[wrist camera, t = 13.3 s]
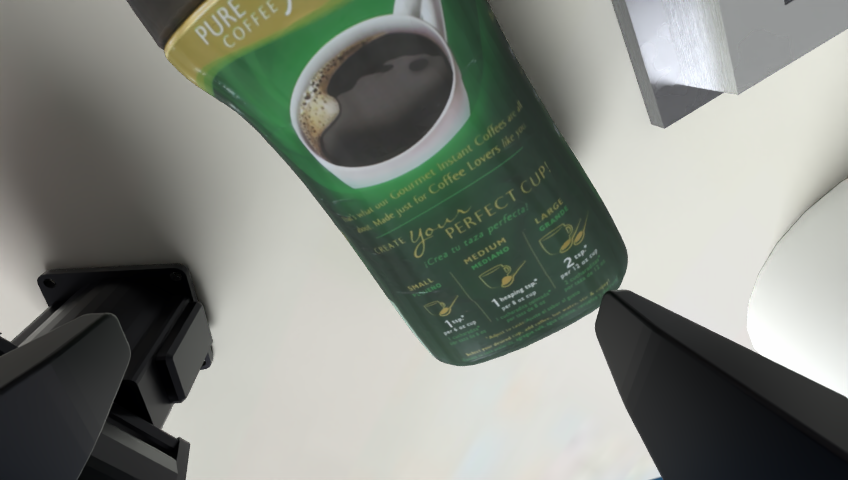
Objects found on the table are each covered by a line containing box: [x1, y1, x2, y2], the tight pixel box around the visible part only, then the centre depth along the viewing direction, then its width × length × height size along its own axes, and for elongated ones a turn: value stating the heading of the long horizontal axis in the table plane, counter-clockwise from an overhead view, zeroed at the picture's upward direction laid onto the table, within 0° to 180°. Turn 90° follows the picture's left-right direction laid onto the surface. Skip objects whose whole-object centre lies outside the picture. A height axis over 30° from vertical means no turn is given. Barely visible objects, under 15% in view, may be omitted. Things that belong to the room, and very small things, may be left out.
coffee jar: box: [127, 0, 628, 366], centre depth 15 cm, size 10×8×19 cm
